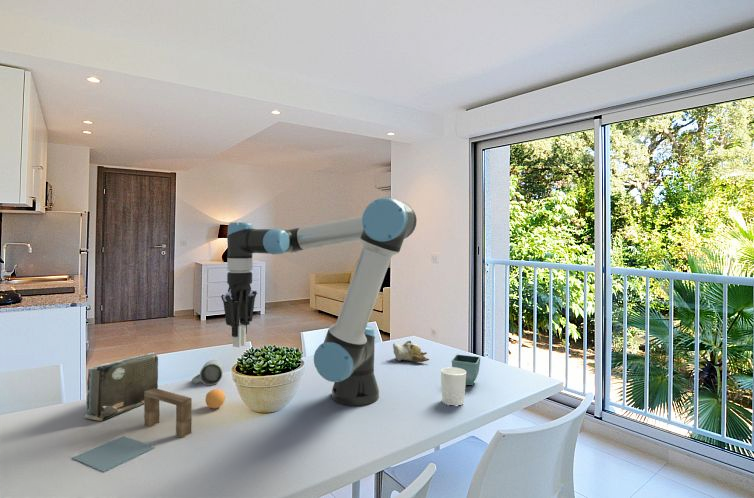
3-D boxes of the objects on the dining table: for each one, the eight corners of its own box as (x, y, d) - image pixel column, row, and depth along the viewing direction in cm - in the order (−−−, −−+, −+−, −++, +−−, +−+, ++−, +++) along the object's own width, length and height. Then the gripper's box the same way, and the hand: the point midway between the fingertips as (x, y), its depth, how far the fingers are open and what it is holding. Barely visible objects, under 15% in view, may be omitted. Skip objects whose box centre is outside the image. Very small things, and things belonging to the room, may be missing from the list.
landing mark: (154, 447, 102) (154, 447, 102) (103, 472, 92) (103, 471, 92) (123, 436, 108) (123, 435, 108) (71, 458, 97) (71, 457, 97)
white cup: (468, 400, 136) (468, 369, 136) (462, 409, 129) (463, 376, 128) (444, 395, 139) (444, 365, 139) (437, 404, 132) (437, 372, 132)
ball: (229, 406, 128) (229, 388, 127) (214, 413, 123) (214, 394, 123) (215, 402, 130) (216, 385, 130) (201, 409, 125) (201, 390, 125)
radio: (151, 390, 139) (151, 345, 139) (170, 395, 136) (170, 348, 136) (77, 418, 118) (77, 365, 117) (98, 424, 115) (98, 369, 114)
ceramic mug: (223, 377, 154) (223, 356, 153) (222, 384, 146) (222, 363, 146) (193, 379, 151) (193, 359, 151) (190, 387, 143) (190, 365, 143)
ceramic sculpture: (393, 336, 183) (427, 339, 183) (391, 356, 184) (426, 359, 183) (393, 342, 173) (430, 345, 172) (392, 363, 173) (428, 366, 173)
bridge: (154, 421, 117) (154, 388, 116) (191, 433, 110) (191, 398, 110) (144, 425, 114) (144, 391, 114) (181, 437, 108) (181, 401, 107)
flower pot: (450, 385, 149) (451, 360, 149) (455, 378, 157) (456, 353, 157) (476, 389, 146) (476, 363, 145) (480, 381, 154) (480, 356, 154)
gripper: (247, 269, 142) (246, 339, 143) (213, 272, 129) (212, 349, 130) (264, 270, 138) (264, 342, 139) (231, 273, 126) (230, 353, 126)
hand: (239, 345), depth 134 cm, fingers closed
